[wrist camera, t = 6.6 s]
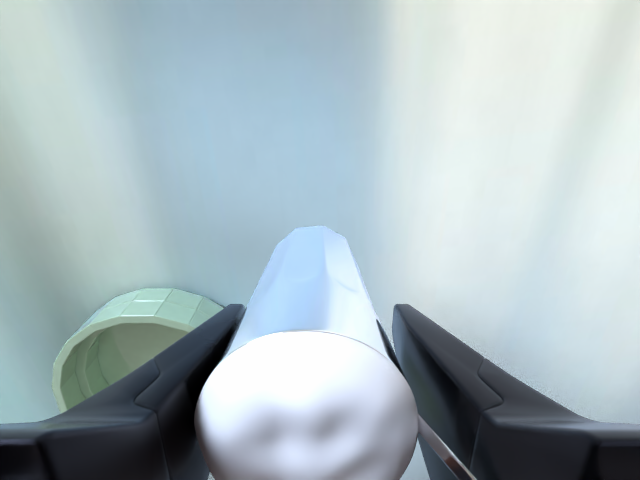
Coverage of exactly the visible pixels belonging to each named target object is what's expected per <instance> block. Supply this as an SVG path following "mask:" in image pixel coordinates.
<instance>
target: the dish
mask: <svg viewBox="0 0 640 480" xmlns="http://www.w3.org/2000/svg"><path fill="white" fill-rule="evenodd" d="M222 309H224V308H223V307H222V306H220V305H218V304H217V303H215V302H213V301H211V300H210V299H208V298H206V297H203V296H201V295H197V294H194V293H190V292H186V291H183V290H179V289H173V288H144V289H143V288H142V289H139V290H135V291H132V292H129V293H126V294H122V295H119V296H116V297H114V298H113V299H112V300H110V301H109V302H107V303H106V304H105V305H103V306H102V307H101V308H99V309H98V310H97V311H95V312H94V313H93V314H92V315H91V316H90V318H89V319H88V320H87V321H86V322H85V323H84V324H83V325H82V326H81V327H80V328H79V329H78V330H77V331H76V332H75V333H74V334H73V335H72V336H71V337H70V338H69V339H68V340H67V341H66V343H65V344H64V346H63V348H62V350H61V351H60V353H59V355H58V356H57V358H56V360H55V362H54V366H53V378H52V390H53V393H54V396H55V399H56V402H57V405H58V408H59V411H60V413H63V412H65V411H67V410H69V409H70V408H72V407H74V406H76V405H77V404H79V403H81V402H82V401H84V400H86V399H88V398H89V397H91V396H93V395H94V394H96V393H98V392H100V391H101V390H103V389H105V388H106V387H108V386H110V385H111V384H113V383H115V382H116V381H118V380H120V379H121V378H123V377H125V376H126V375H128V374H129V373H131V372H132V371H134V370H135V369H137V368H138V367H140V366H141V365H143V364H144V363H146V362H147V361H149V360H150V359H152V358H154V357H155V356H156V355H157V354H159V353H160V352H162V351H163V350H165V349H166V348H168V347H169V346H170V345H172V344H173V343H175V342H176V341H178V340H179V339H181V338H182V337H183V336H185V335H186V334H188V333H189V332H191V331H192V330H194V329H195V328H196V327H198V326H199V325H201V324H202V323H204V322H205V321H207V320H208V319H209V318H211V317H212V316H214V315H215V314H217V313H218V312H219V311H221V310H222Z"/></svg>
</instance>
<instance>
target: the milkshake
mask: <svg viewBox="0 0 640 480" xmlns="http://www.w3.org/2000/svg"><path fill="white" fill-rule="evenodd" d="M194 425H195V431H196V436H197V440H198V443H199V446H200V449H201V452H202V454H203V457H204V459H205V462H206V464H207V466H208V468H209V470H210V472H211V474H212V475H213V477H214V478H215V480H399V479H400V478H401V477H402V475H403V473H404V472H405V470H406V468H407V467H408V465H409V463H410V461H411V458H412V456H413V453H414V450H415V446H416V442H417V437H418V432H419V433H420V434H421V436H422V437H423V438H424V439H425V440H426V441H427V443H428V444H429V445H430V446H431V447H432V449H433V450H434V451H435V452H436V453H437V455H438V456H439V457H440V458H441V459H442V461H443V462H444V463H445V464H446V465H447V466H448V468H449V469H450V470H451V471H452V472H453V474H454V475H455V476H456V477H457V478H458V480H477V479H476V478H475V476H474V475H473V474H472V473H471V472H470V471H469V470H468V469H467V467H466V466H465V465H464V464H463V463H462V462H461V461H460V460H459V458H458V457H457V456H456V455H455V454H454V453H453V452H452V451H451V449H450V448H449V447H448V446H447V445H446V444H445V443H444V442H443V440H442V439H441V438H440V437H439V436H438V435H437V434H436V433H435V431H434V430H433V429H432V428H431V427H430V426H429V425H428V424H427V422H426V421H425V420H424V419H423V418H422V417H421V416H420V415H419V413H418V411H417V406H416V402H415V399H414V396H413V393H412V391H411V389H410V386H409V384H408V382H407V380H406V377H405V375H404V373H403V371H402V368H401V366H400V364H399V362H398V359H397V357H396V355H395V353H394V350H393V348H392V346H391V344H390V341H389V339H388V337H387V335H386V332H385V330H384V328H383V326H382V324H381V322H380V320H379V318H378V316H377V314H376V312H375V310H374V307H373V304H372V302H371V299H370V296H369V294H368V291H367V288H366V286H365V283H364V280H363V278H362V275H361V272H360V270H359V267H358V264H357V262H356V259H355V257H354V255H353V253H352V251H351V249H350V247H349V244H348V242H347V240H346V238H345V237H344V236H342V235H340V234H338V233H336V232H334V231H332V230H331V229H329V228H327V227H325V226H323V225H318V226H309V227H299V228H295V229H294V230H293V231H292V232H291V233H290V234H288V235H287V236H286V237H285V238H284V239H283V240H282V241H280V242H279V243H278V244H277V245H276V247H275V249H274V251H273V253H272V255H271V257H270V259H269V261H268V263H267V265H266V267H265V270H264V272H263V274H262V276H261V278H260V280H259V282H258V284H257V286H256V288H255V290H254V292H253V294H252V296H251V298H250V300H249V302H248V305H247V307H246V309H245V311H244V313H243V315H242V317H241V318H240V320H239V322H238V324H237V326H236V328H235V329H234V331H233V333H232V335H231V337H230V339H229V340H228V342H227V344H226V346H225V348H224V349H223V351H222V353H221V355H220V357H219V359H218V360H217V362H216V364H215V366H214V368H213V369H212V371H211V373H210V375H209V377H208V379H207V381H206V383H205V385H204V387H203V389H202V391H201V393H200V396H199V399H198V401H197V405H196V409H195V415H194Z"/></svg>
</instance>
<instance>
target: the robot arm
mask: <svg viewBox="0 0 640 480" xmlns="http://www.w3.org/2000/svg"><path fill="white" fill-rule="evenodd" d="M244 311H245V308H244V306H243V305H242V304H230V305H228V306H227V307H225V308H224V309H222V310H221V311H219V312H218V313H217V314H215V315H214V316H212V317H211V318H209V319H208V320H207V321H205V322H204V323H202V324H201V325H199V326H198V327H196V328H195V329H194V330H192V331H191V332H189V333H188V334H186V335H185V336H183V337H182V338H181V339H179V340H178V341H176V342H175V343H173V344H172V345H170V346H169V347H168V348H166V349H165V350H163V351H162V352H160V353H159V354H157V355H156V356H155V357H154V358H152V359H150V360H149V361H147V362H146V363H144V364H143V365H141V366H140V367H138V368H137V369H135V370H134V371H132V372H131V373H129V374H128V375H126V376H125V377H123V378H121V379H120V380H118V381H116V382H115V383H113V384H111V385H110V386H108V387H106V388H105V389H103V390H101V391H100V392H98V393H96V394H94V395H93V396H91V397H89V398H88V399H86V400H84V401H82V402H81V403H79V404H77V405H76V406H74V407H72V408H70V409H69V410H67V411H65V412H63V413H61V414H60V415H57V416H55V417H53V418H50V419H47V420H44V421H39V422H32V423H12V424H0V480H208V476H209V473H210V470H209V468H208V466H207V464H206V462H205V459H204V457H203V454H202V452H201V449H200V446H199V443H198V440H197V436H196V431H195V425H194V415H195V409H196V405H197V401H198V399H199V396H200V393H201V391H202V389H203V387H204V385H205V383H206V381H207V379H208V377H209V375H210V373H211V371H212V369H213V368H214V366H215V364H216V362H217V360H218V359H219V357H220V355H221V353H222V351H223V349H224V348H225V346H226V344H227V342H228V340H229V339H230V337H231V335H232V333H233V331H234V329H235V328H236V326H237V324H238V322H239V320H240V318H241V317H242V315H243V313H244ZM392 335H393V341H394V347H395V353H396V357H397V359H398V362H399V364H400V366H401V368H402V371H403V373H404V375H405V377H406V380H407V382H408V384H409V386H410V389H411V391H412V393H413V396H414V399H415V402H416V406H417V411H418V413H419V415H420V416H421V417H422V418H423V419H424V420H425V421H426V422H427V424H428V425H429V426H430V427H431V428H432V429H433V430H434V431H435V433H436V434H437V435H438V436H439V437H440V438H441V439H442V440H443V442H444V443H445V444H446V445H447V446H448V447H449V448H450V449H451V451H452V452H453V453H454V454H455V455H456V456H457V457H458V458H459V460H460V461H461V462H462V463H463V464H464V465H465V466H466V467H467V469H468V470H469V471H470V472H471V473H472V474H473V475H474V476H475V478H476V479H477V480H640V424H625V423H605V422H598V421H593V420H590V419H587V418H584V417H582V416H580V415H577V414H576V413H574V412H572V411H570V410H568V409H567V408H565V407H563V406H562V405H560V404H558V403H556V402H555V401H553V400H551V399H550V398H548V397H546V396H545V395H543V394H541V393H539V392H538V391H536V390H534V389H533V388H531V387H529V386H528V385H526V384H524V383H523V382H521V381H519V380H518V379H516V378H514V377H513V376H511V375H510V374H508V373H507V372H505V371H504V370H502V369H501V368H499V367H498V366H496V365H495V364H493V363H492V362H490V361H489V360H488V359H486V358H485V359H484V357H483V356H482V355H480V354H479V353H477V352H476V351H475V350H473V349H472V348H470V347H469V346H467V345H466V344H465V343H463V342H462V341H460V340H459V339H457V338H456V337H454V336H453V335H452V334H450V333H449V332H447V331H446V330H444V329H443V328H442V327H440V326H439V325H437V324H436V323H434V322H433V321H432V320H430V319H429V318H427V317H426V316H424V315H423V314H422V313H420V312H419V311H417V310H416V309H414V308H413V307H412V306H410V305H408V304H396V305H395V306H394V312H393V324H392ZM418 441H419V444H420V447H421V450H422V454H423V457H424V460H425V464H426V467H427V470H428V474H429V477H430V480H458V478H457V477H456V476H455V475H454V474H453V472H452V471H451V470H450V469H449V468H448V466H447V465H446V464H445V463H444V462H443V461H442V459H441V458H440V457H439V456H438V455H437V453H436V452H435V451H434V450H433V449H432V447H431V446H430V445H429V444H428V443H427V441H426V440H425V439H424V438H423V437H422V436H421V434H420V433H419V432H418Z"/></svg>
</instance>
